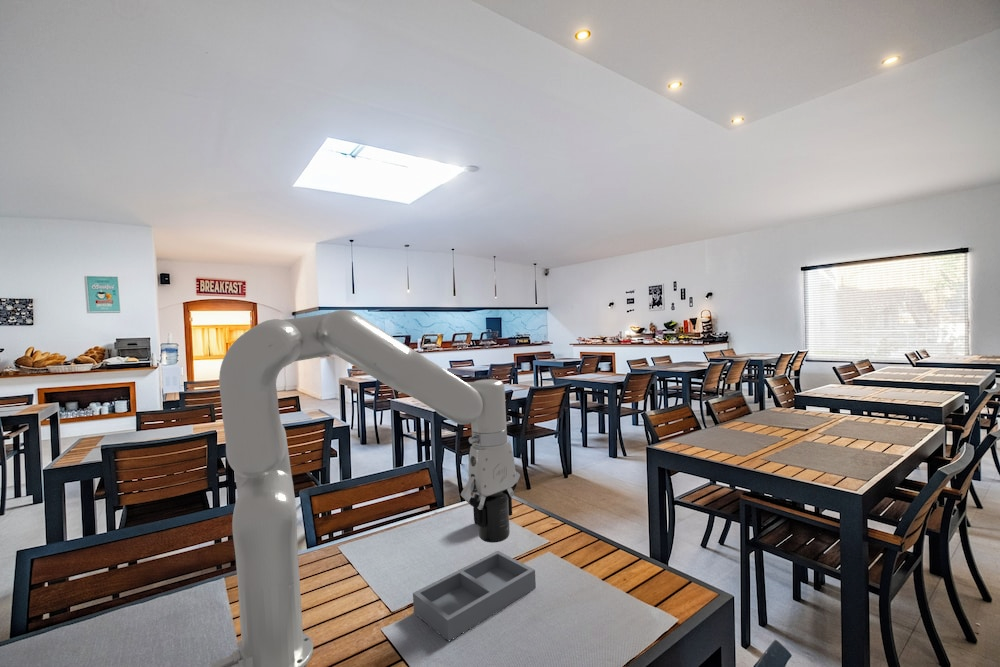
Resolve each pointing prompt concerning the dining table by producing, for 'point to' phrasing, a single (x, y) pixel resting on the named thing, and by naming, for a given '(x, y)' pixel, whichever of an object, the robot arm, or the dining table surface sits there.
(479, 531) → the supplement bottle
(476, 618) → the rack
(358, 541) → the dining table surface
